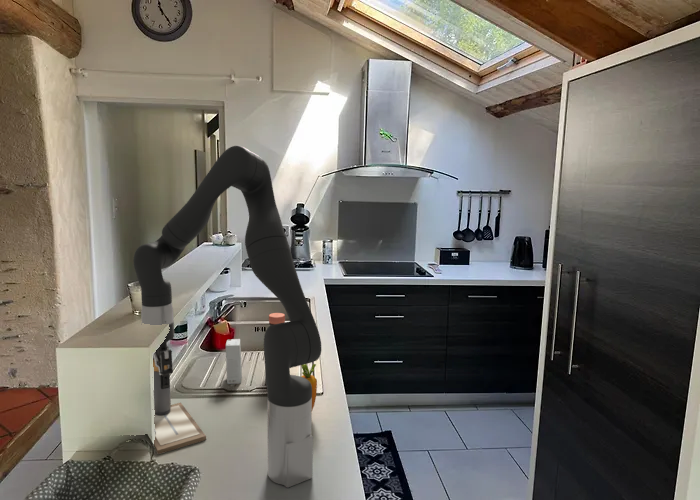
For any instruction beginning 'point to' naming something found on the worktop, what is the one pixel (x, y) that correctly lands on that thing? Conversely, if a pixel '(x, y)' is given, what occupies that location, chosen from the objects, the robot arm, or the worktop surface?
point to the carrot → (310, 380)
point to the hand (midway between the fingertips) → (160, 382)
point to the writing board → (176, 430)
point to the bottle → (276, 318)
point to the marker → (161, 395)
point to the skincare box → (233, 361)
